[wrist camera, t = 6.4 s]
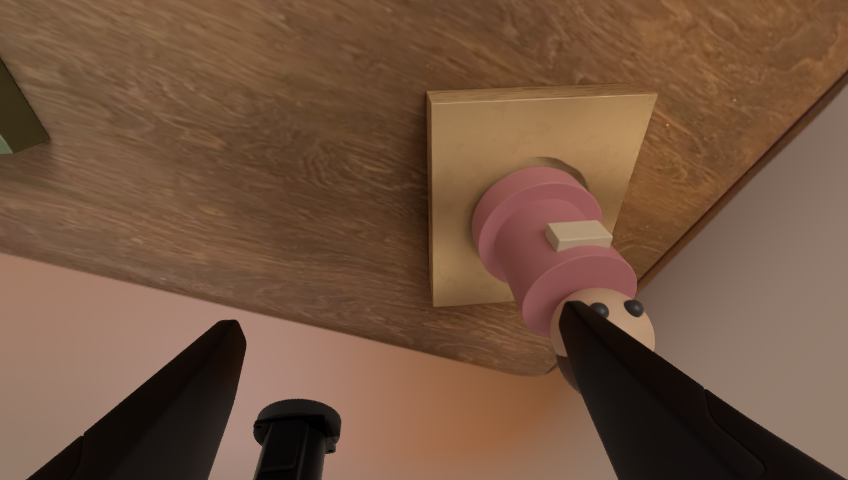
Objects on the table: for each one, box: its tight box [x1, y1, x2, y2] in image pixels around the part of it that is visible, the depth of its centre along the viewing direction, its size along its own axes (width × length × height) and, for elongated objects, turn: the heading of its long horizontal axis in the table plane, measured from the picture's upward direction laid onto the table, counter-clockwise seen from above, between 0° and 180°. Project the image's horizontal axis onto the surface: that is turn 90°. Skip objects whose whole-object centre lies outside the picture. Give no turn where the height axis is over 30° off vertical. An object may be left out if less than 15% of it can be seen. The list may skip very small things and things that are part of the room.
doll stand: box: [426, 83, 658, 307], centre depth 20 cm, size 12×10×2 cm
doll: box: [472, 167, 655, 394], centre depth 15 cm, size 6×6×10 cm
